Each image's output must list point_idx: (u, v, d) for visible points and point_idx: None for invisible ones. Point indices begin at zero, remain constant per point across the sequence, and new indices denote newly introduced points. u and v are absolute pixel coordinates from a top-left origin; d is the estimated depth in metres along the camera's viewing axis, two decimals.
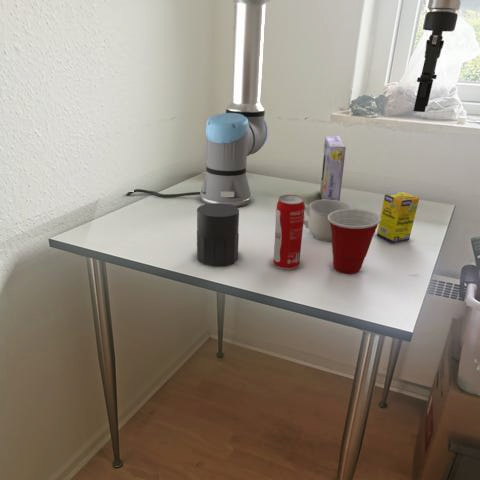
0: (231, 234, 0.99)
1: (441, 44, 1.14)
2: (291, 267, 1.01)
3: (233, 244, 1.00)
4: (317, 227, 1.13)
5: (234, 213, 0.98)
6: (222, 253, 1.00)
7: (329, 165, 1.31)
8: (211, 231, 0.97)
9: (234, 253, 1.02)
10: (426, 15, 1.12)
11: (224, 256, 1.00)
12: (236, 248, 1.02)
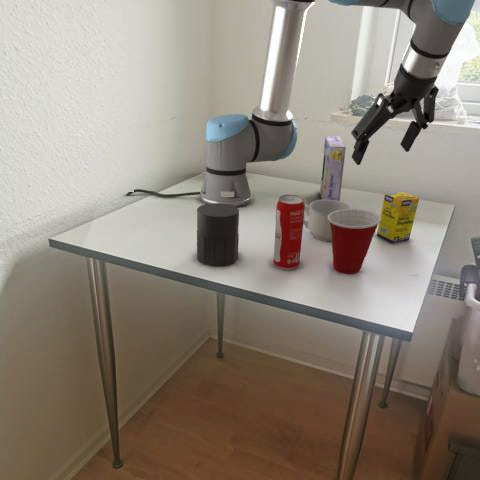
0: (231, 234, 0.99)
1: (401, 106, 0.95)
2: (291, 267, 1.01)
3: (233, 244, 1.00)
4: (317, 227, 1.13)
5: (234, 213, 0.98)
6: (222, 253, 1.00)
7: (329, 165, 1.31)
8: (211, 231, 0.97)
9: (234, 253, 1.02)
10: None
11: (224, 256, 1.00)
12: (236, 248, 1.02)
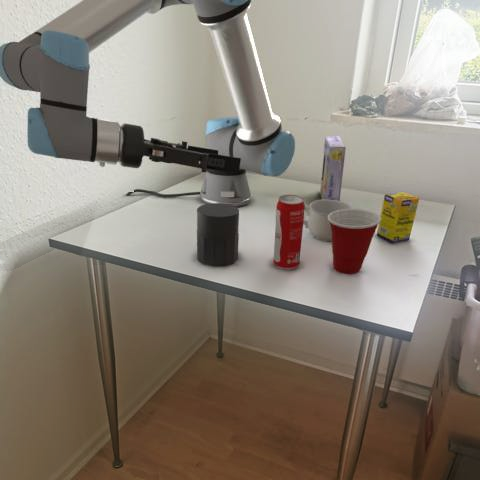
0: (231, 234, 0.99)
1: None
2: (291, 267, 1.01)
3: (233, 244, 1.00)
4: (317, 227, 1.13)
5: (234, 213, 0.98)
6: (222, 253, 1.00)
7: (329, 165, 1.31)
8: (211, 231, 0.97)
9: (234, 253, 1.02)
10: None
11: (224, 256, 1.00)
12: (236, 248, 1.02)
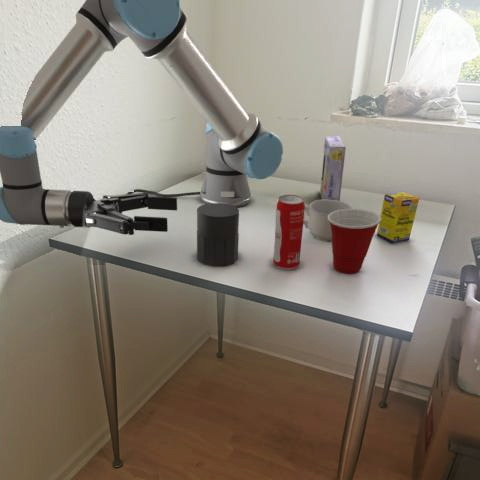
0: (231, 234, 0.99)
1: None
2: (291, 267, 1.01)
3: (233, 244, 1.00)
4: (317, 227, 1.13)
5: (234, 213, 0.98)
6: (222, 253, 1.00)
7: (329, 165, 1.31)
8: (211, 231, 0.97)
9: (234, 253, 1.02)
10: None
11: (224, 256, 1.00)
12: (236, 248, 1.02)
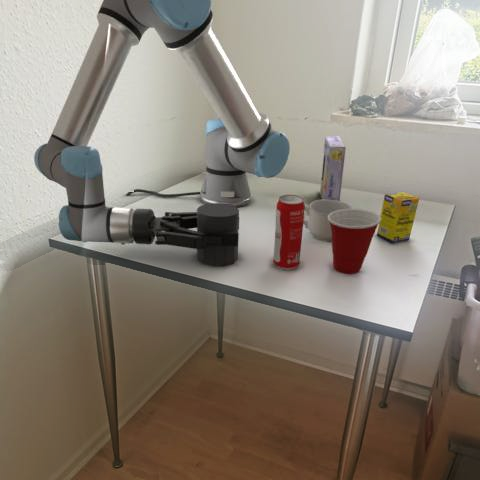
0: None
1: None
2: (291, 267, 1.01)
3: None
4: (317, 227, 1.13)
5: (234, 213, 0.98)
6: (222, 253, 1.00)
7: (329, 165, 1.31)
8: None
9: (234, 253, 1.02)
10: None
11: (224, 256, 1.00)
12: (236, 248, 1.02)
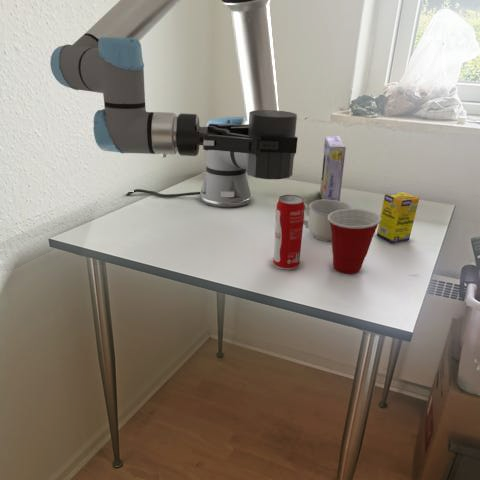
0: None
1: None
2: (291, 267, 1.01)
3: (289, 153, 0.89)
4: (317, 227, 1.13)
5: (292, 115, 0.86)
6: (277, 163, 0.88)
7: (329, 165, 1.31)
8: (266, 135, 0.86)
9: (290, 165, 0.90)
10: None
11: (279, 167, 0.89)
12: (292, 160, 0.91)
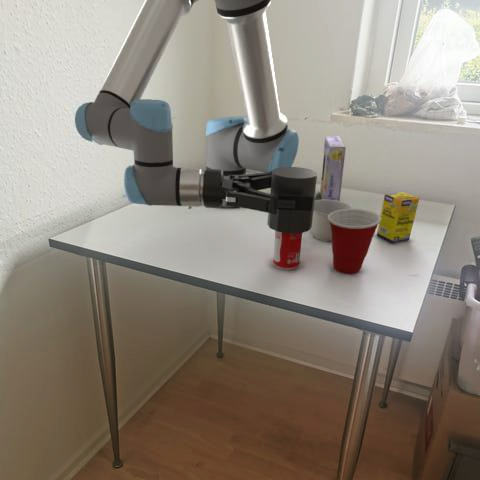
0: None
1: None
2: (291, 267, 1.01)
3: None
4: (317, 227, 1.13)
5: (313, 175, 0.91)
6: (298, 219, 0.93)
7: (329, 165, 1.31)
8: (289, 194, 0.91)
9: (310, 220, 0.95)
10: None
11: (300, 222, 0.94)
12: (311, 214, 0.96)
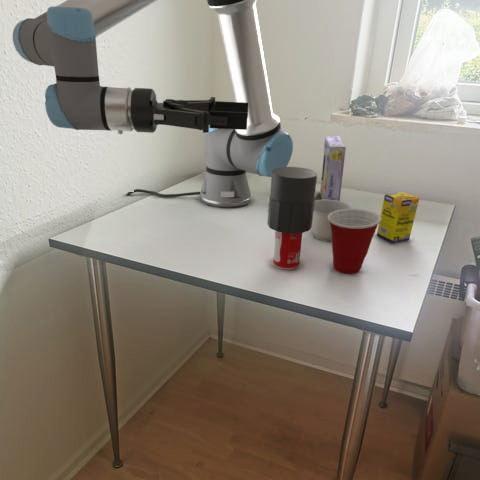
0: (309, 198, 0.92)
1: None
2: (291, 267, 1.01)
3: (310, 210, 0.94)
4: (317, 227, 1.13)
5: (313, 175, 0.91)
6: (298, 219, 0.93)
7: (329, 165, 1.31)
8: (289, 194, 0.91)
9: (310, 220, 0.95)
10: None
11: (300, 222, 0.94)
12: (312, 214, 0.96)
